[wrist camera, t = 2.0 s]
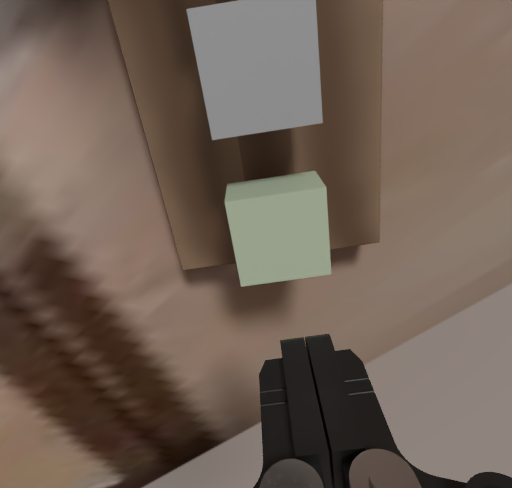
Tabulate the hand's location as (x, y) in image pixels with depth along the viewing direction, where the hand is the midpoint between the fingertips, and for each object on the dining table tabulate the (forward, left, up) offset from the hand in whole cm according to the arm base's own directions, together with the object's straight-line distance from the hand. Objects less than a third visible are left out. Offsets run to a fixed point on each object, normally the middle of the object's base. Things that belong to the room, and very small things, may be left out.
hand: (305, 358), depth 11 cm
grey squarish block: (0, -8, -14) cm, 16 cm away
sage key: (0, 0, -14) cm, 14 cm away
